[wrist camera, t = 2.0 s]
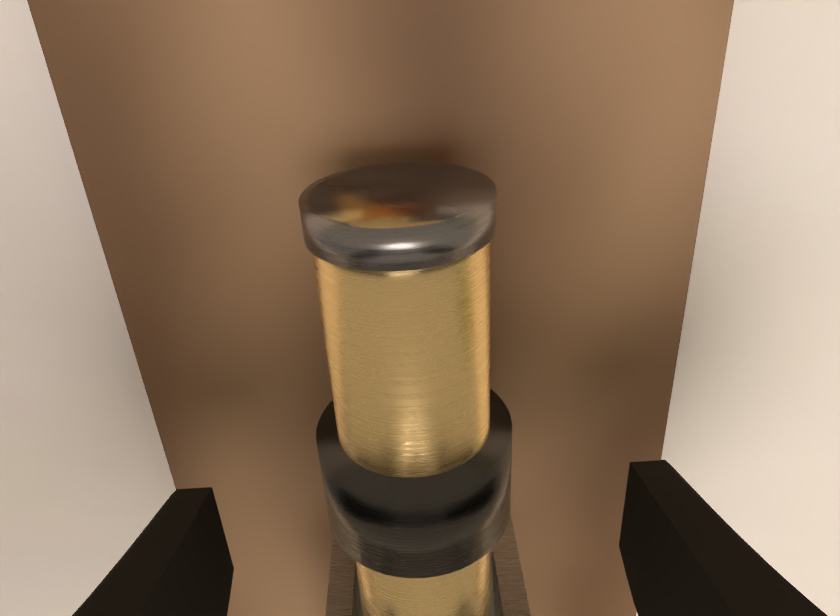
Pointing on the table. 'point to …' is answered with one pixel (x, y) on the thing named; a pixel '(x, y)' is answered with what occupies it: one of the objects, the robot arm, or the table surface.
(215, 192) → the base board
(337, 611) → the outer sleeve
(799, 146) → the table surface
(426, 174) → the inner tube
